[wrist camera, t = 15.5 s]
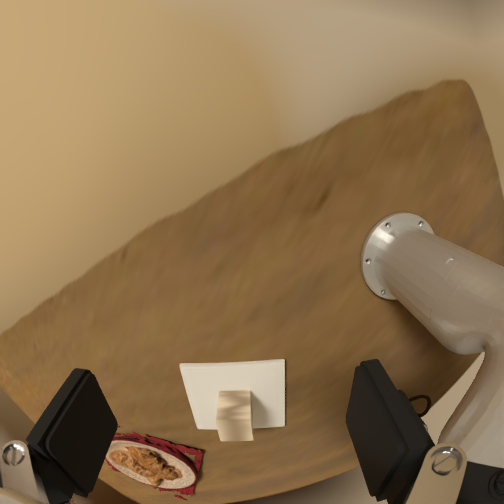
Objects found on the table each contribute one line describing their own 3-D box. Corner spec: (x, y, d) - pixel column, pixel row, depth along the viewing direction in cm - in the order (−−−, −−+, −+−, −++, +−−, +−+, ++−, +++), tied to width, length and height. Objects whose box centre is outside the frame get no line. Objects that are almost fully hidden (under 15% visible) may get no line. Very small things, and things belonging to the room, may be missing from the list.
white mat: (284, 358, 42) (284, 361, 41) (284, 423, 46) (284, 426, 46) (180, 363, 42) (179, 365, 41) (198, 426, 46) (197, 429, 46)
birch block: (250, 389, 43) (250, 421, 36) (252, 409, 44) (253, 440, 37) (219, 390, 43) (215, 422, 36) (223, 410, 44) (220, 441, 37)
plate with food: (204, 444, 49) (203, 457, 46) (192, 492, 56) (191, 502, 52) (94, 411, 48) (87, 422, 44) (106, 467, 54) (102, 476, 50)
